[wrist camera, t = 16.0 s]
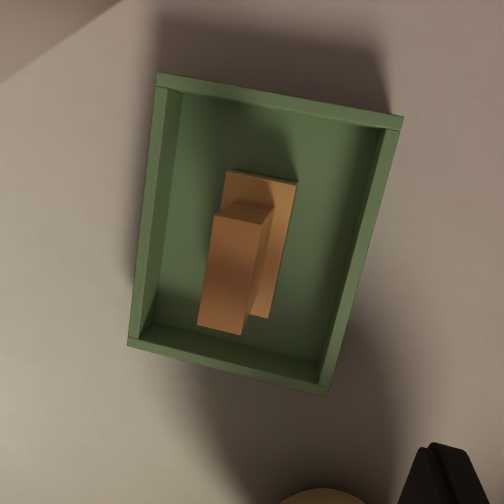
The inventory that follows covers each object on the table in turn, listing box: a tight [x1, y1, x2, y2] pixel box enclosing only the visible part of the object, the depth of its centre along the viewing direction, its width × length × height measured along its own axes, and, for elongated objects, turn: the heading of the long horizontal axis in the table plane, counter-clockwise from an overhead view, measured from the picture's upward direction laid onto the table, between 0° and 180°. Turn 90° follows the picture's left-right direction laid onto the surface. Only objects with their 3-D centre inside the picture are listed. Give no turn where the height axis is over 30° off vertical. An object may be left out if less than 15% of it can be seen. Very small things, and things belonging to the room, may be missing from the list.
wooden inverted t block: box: [197, 168, 299, 335], centre depth 25 cm, size 9×4×9 cm, turn 169°
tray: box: [127, 72, 404, 397], centre depth 28 cm, size 19×15×4 cm
